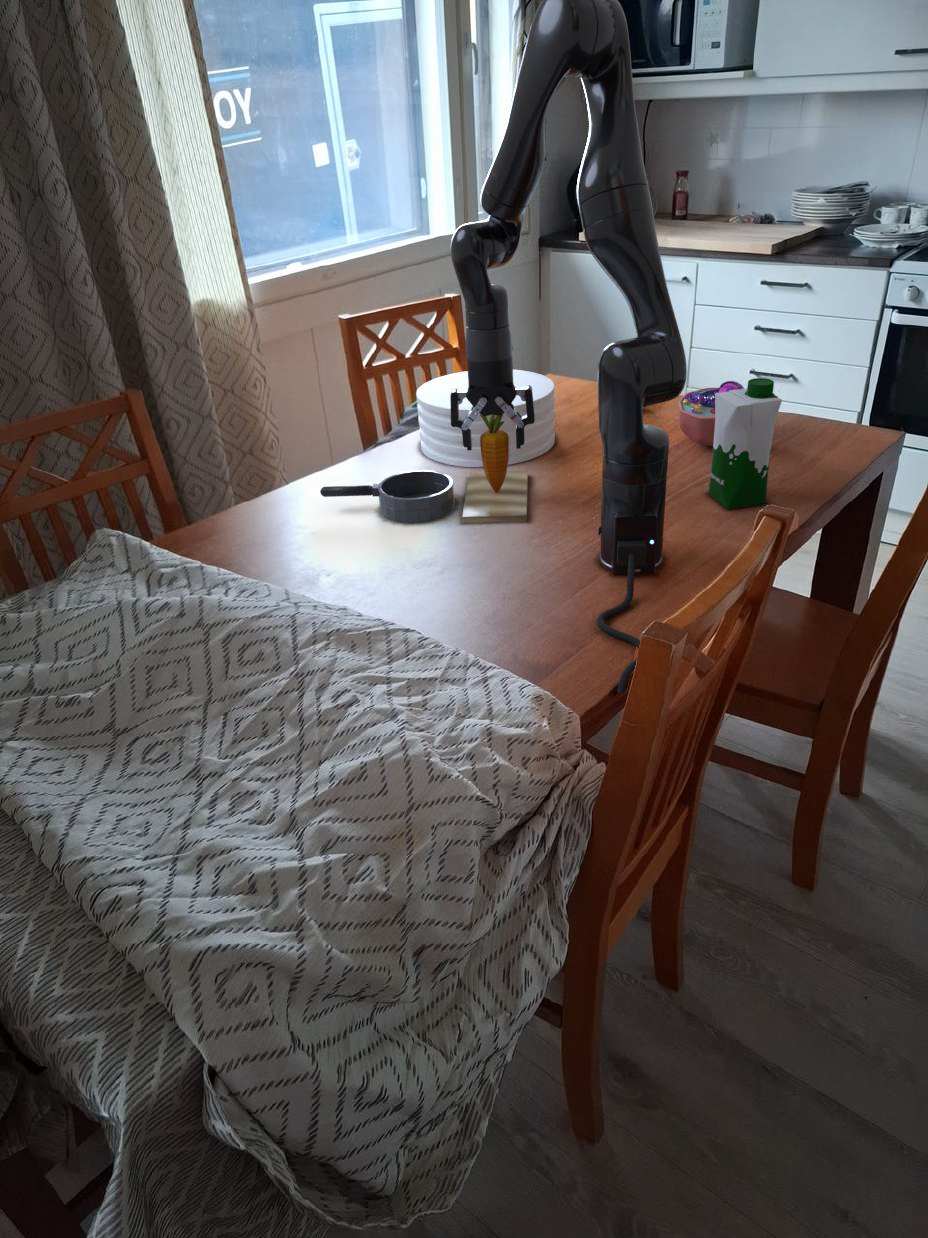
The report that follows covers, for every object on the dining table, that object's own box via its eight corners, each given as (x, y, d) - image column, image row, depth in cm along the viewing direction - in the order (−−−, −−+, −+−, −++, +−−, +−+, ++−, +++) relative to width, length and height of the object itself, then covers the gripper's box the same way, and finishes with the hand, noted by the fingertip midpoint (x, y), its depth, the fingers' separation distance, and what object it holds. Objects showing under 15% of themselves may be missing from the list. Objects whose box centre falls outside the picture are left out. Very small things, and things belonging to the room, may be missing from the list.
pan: (451, 522, 147) (449, 498, 144) (375, 524, 148) (372, 500, 146) (457, 491, 158) (455, 468, 156) (386, 494, 159) (384, 471, 157)
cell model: (653, 446, 171) (656, 390, 166) (711, 420, 182) (716, 366, 177) (727, 466, 160) (733, 406, 155) (784, 437, 171) (791, 380, 166)
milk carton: (773, 504, 145) (789, 386, 134) (724, 512, 143) (736, 394, 133) (747, 485, 152) (760, 372, 142) (700, 492, 151) (709, 379, 140)
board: (526, 521, 145) (526, 515, 145) (462, 523, 146) (461, 516, 146) (527, 476, 162) (527, 470, 162) (469, 478, 163) (469, 472, 163)
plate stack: (436, 475, 165) (431, 417, 159) (410, 430, 189) (405, 378, 183) (573, 455, 170) (574, 398, 164) (531, 413, 194) (530, 362, 188)
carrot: (477, 493, 154) (472, 411, 146) (495, 484, 157) (491, 404, 149) (498, 500, 151) (494, 416, 143) (516, 490, 154) (513, 408, 146)
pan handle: (382, 492, 153) (381, 483, 152) (380, 496, 151) (379, 487, 150) (322, 494, 154) (320, 484, 153) (320, 498, 152) (318, 489, 151)
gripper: (444, 361, 138) (451, 457, 147) (532, 357, 137) (535, 454, 145) (448, 350, 145) (455, 442, 153) (532, 345, 143) (535, 439, 152)
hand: (494, 448), depth 149 cm, fingers open, 8 cm apart
